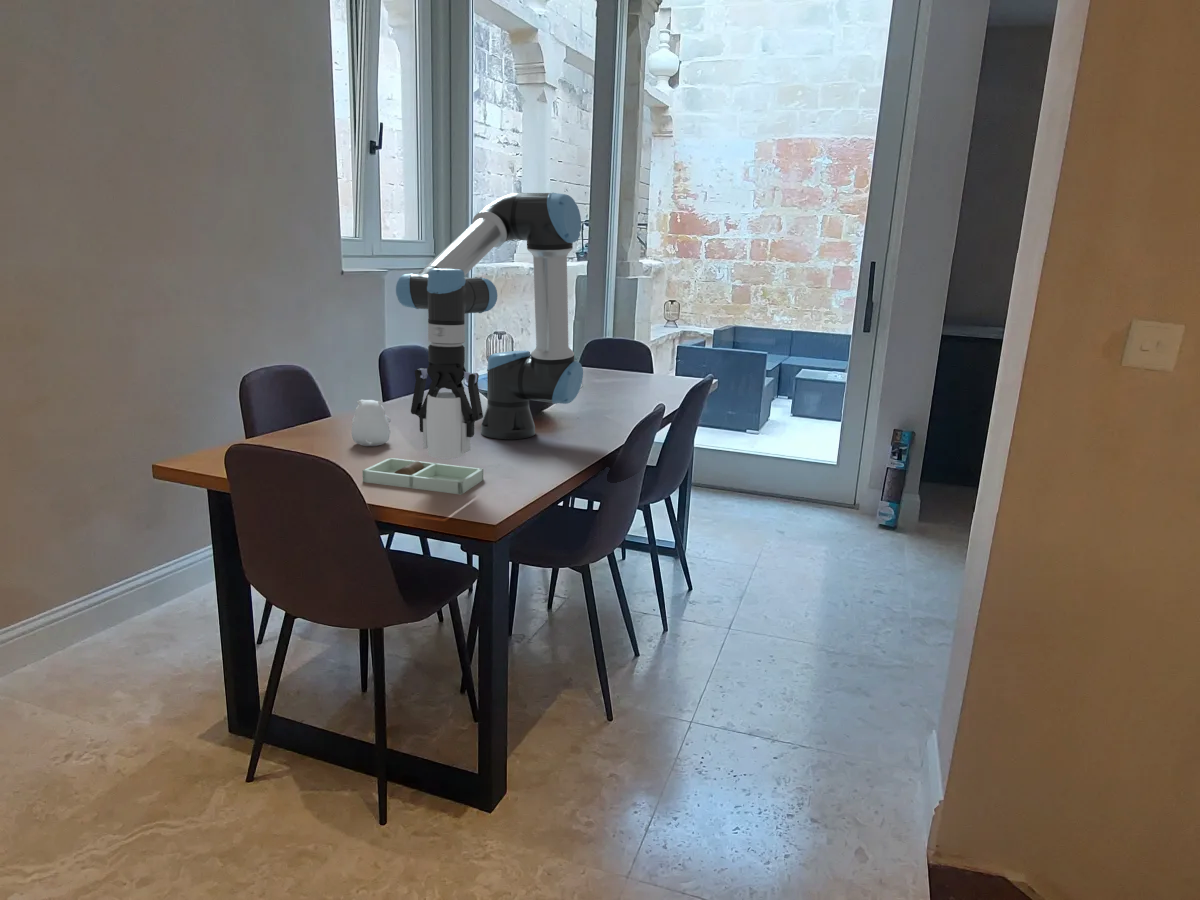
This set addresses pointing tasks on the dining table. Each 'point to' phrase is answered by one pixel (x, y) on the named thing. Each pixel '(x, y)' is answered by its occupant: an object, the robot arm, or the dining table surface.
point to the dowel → (410, 468)
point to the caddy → (424, 476)
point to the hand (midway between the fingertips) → (446, 449)
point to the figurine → (370, 424)
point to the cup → (444, 426)
